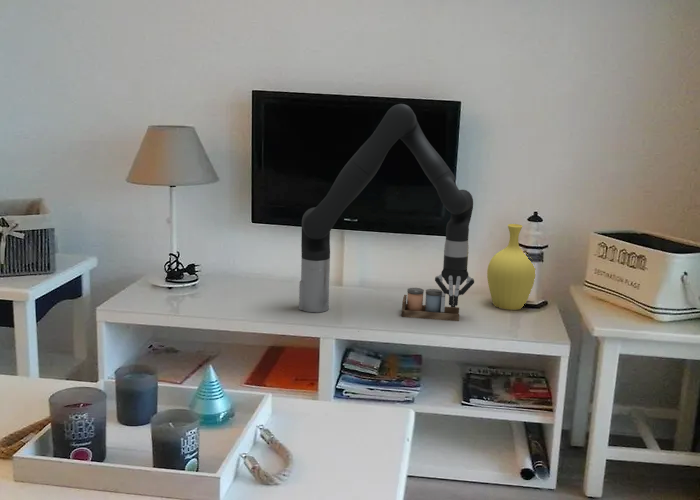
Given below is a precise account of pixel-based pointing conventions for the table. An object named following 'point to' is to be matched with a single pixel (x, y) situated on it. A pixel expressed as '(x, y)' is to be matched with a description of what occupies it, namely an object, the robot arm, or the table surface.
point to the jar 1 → (415, 299)
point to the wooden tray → (431, 313)
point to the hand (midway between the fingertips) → (452, 306)
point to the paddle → (442, 302)
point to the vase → (510, 274)
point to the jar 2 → (433, 300)
